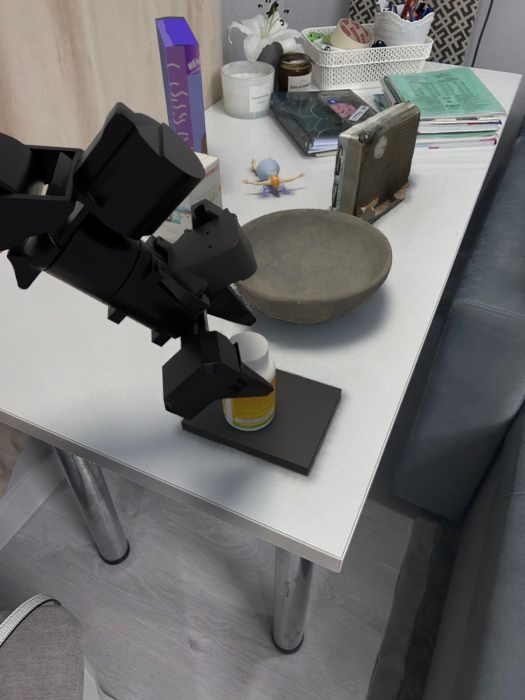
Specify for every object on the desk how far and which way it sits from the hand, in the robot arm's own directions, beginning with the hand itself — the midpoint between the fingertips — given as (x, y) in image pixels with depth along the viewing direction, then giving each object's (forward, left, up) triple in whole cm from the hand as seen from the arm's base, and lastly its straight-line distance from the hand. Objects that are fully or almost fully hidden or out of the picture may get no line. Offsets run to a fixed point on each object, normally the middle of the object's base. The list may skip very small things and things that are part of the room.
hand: (261, 355), depth 48 cm
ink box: (-7, +39, -10) cm, 41 cm away
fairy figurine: (+8, +54, -10) cm, 56 cm away
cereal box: (-6, +58, -10) cm, 59 cm away
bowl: (+8, +20, -10) cm, 24 cm away
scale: (0, +1, -10) cm, 10 cm away
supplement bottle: (-1, 0, -9) cm, 9 cm away
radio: (+25, +45, -10) cm, 52 cm away
